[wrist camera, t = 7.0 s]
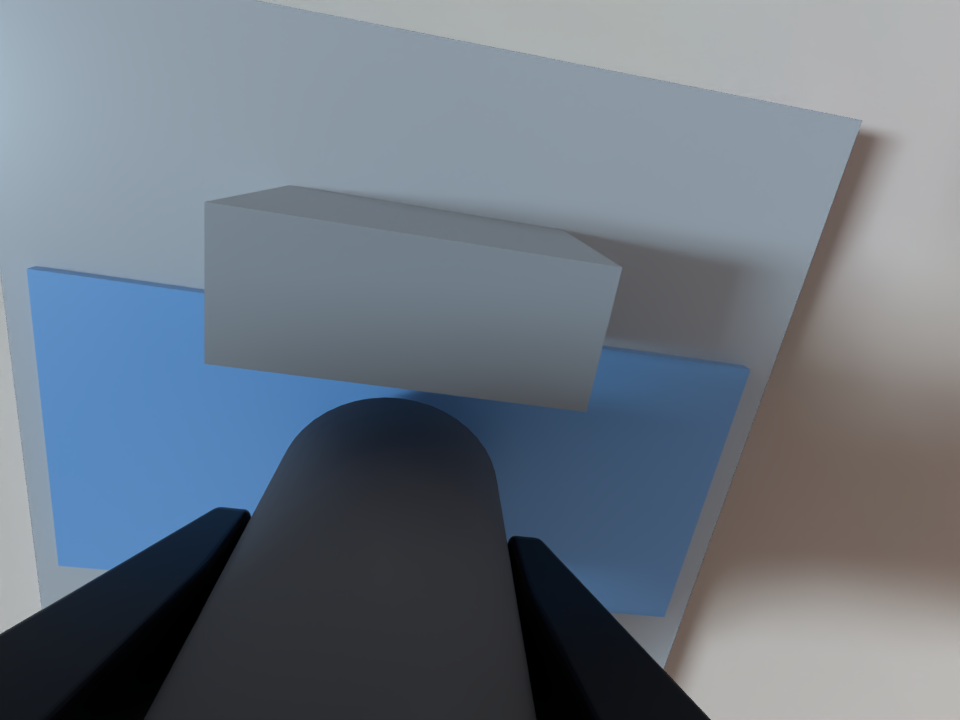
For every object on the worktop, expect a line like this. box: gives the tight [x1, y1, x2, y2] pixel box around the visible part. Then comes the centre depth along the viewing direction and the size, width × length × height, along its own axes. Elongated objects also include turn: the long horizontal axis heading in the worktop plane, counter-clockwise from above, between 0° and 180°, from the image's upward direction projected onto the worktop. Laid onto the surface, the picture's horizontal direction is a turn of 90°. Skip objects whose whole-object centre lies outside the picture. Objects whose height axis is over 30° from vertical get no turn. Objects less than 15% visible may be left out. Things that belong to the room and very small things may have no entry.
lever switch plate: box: [0, 0, 862, 670], centre depth 10 cm, size 12×20×4 cm, turn 171°
